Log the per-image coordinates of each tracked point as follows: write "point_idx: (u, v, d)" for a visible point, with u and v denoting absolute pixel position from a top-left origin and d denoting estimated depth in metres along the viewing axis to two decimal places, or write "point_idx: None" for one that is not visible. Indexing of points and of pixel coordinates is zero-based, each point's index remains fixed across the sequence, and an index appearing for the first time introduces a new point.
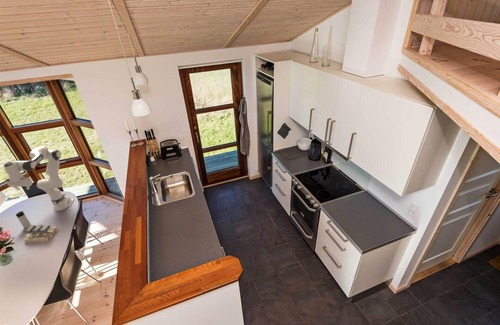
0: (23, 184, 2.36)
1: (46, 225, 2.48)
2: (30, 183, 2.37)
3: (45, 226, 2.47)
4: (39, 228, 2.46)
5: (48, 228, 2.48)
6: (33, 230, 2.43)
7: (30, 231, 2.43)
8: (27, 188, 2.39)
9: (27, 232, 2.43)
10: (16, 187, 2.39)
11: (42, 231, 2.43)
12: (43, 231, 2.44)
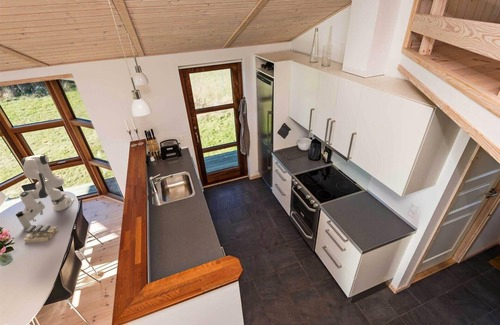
0: (40, 209, 2.40)
1: (46, 225, 2.48)
2: None
3: (45, 226, 2.47)
4: (39, 228, 2.46)
5: (48, 228, 2.48)
6: (33, 230, 2.43)
7: (30, 231, 2.43)
8: (42, 213, 2.43)
9: (27, 232, 2.43)
10: (33, 219, 2.34)
11: (42, 231, 2.43)
12: (43, 231, 2.44)
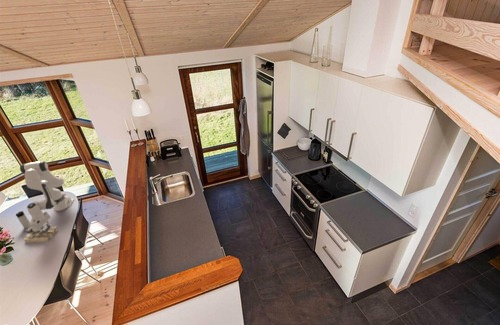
0: (46, 219, 2.47)
1: (46, 225, 2.49)
2: None
3: (45, 226, 2.47)
4: None
5: (48, 228, 2.49)
6: None
7: (30, 231, 2.43)
8: (48, 223, 2.50)
9: (27, 232, 2.43)
10: None
11: (42, 231, 2.44)
12: (43, 231, 2.44)
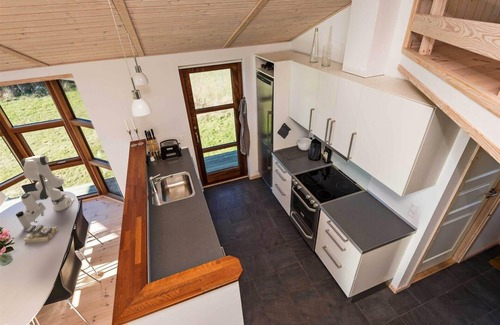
0: (41, 210, 2.41)
1: (48, 228, 2.50)
2: None
3: (47, 229, 2.49)
4: (39, 228, 2.46)
5: (50, 231, 2.50)
6: (33, 230, 2.43)
7: (30, 231, 2.43)
8: (43, 214, 2.44)
9: (27, 232, 2.43)
10: (34, 220, 2.35)
11: (44, 234, 2.45)
12: (45, 234, 2.46)
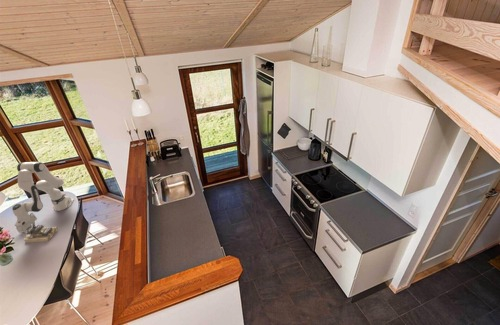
0: (32, 220, 2.47)
1: (48, 228, 2.50)
2: None
3: (47, 229, 2.49)
4: (39, 228, 2.46)
5: (50, 231, 2.50)
6: (33, 230, 2.43)
7: (31, 232, 2.44)
8: (34, 224, 2.50)
9: (28, 233, 2.44)
10: (25, 231, 2.40)
11: (44, 234, 2.45)
12: (45, 234, 2.46)
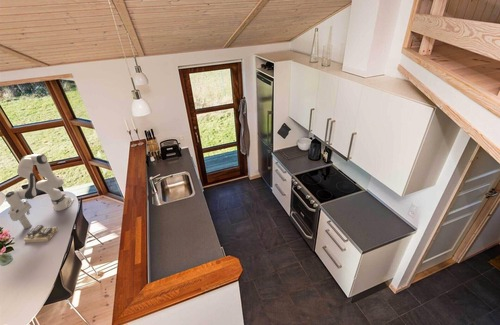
0: (27, 208, 2.40)
1: (48, 228, 2.50)
2: None
3: (47, 229, 2.49)
4: (39, 228, 2.46)
5: (50, 231, 2.50)
6: (33, 230, 2.43)
7: (32, 234, 2.45)
8: None
9: (29, 235, 2.45)
10: (19, 219, 2.34)
11: (44, 234, 2.45)
12: (45, 234, 2.46)
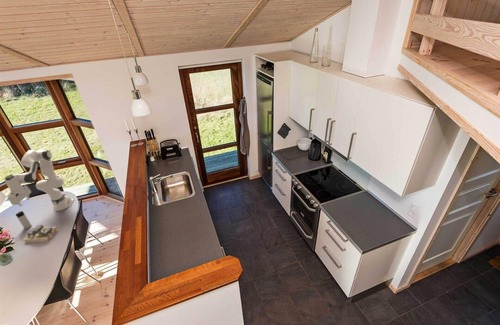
0: (26, 193, 2.38)
1: (48, 228, 2.50)
2: None
3: (47, 229, 2.49)
4: (39, 228, 2.46)
5: (50, 231, 2.50)
6: (33, 230, 2.43)
7: (32, 234, 2.45)
8: (28, 197, 2.41)
9: (29, 235, 2.45)
10: None
11: (44, 234, 2.45)
12: (45, 234, 2.46)
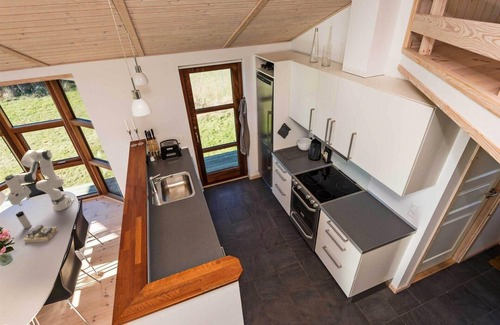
0: (26, 193, 2.38)
1: (48, 228, 2.50)
2: None
3: (47, 229, 2.49)
4: (39, 228, 2.46)
5: (50, 231, 2.50)
6: (33, 230, 2.43)
7: (32, 234, 2.45)
8: (28, 197, 2.41)
9: (29, 235, 2.45)
10: None
11: (44, 234, 2.45)
12: (45, 234, 2.46)
